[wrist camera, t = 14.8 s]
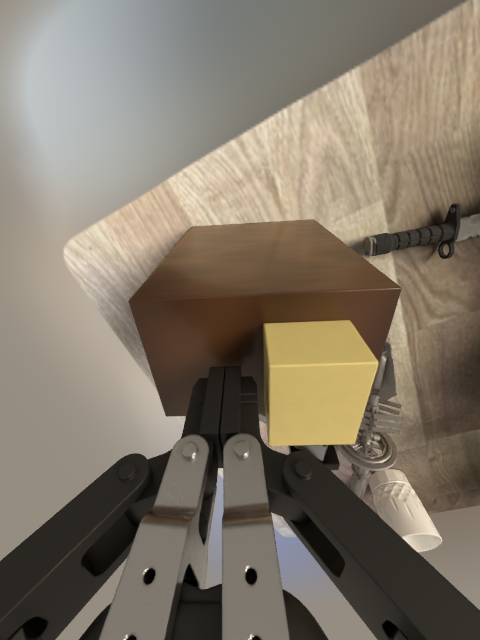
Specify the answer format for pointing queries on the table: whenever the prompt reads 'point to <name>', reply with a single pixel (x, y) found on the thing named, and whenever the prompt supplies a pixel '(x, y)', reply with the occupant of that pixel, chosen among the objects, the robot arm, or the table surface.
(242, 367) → the stand
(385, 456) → the spaceship
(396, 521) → the white cup
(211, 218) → the table surface
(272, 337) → the butter pat
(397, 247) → the knife
